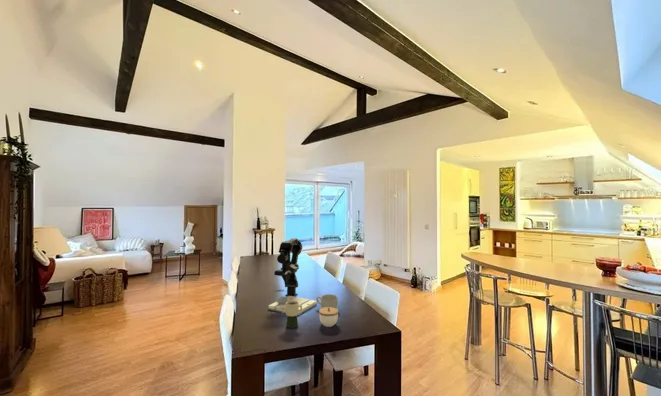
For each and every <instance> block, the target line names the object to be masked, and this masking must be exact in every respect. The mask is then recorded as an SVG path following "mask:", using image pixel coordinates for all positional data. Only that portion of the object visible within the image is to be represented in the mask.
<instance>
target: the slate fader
mask: <svg viewBox="0 0 661 396" xmlns="http://www.w3.org/2000/svg"><path fill="white" fill-rule="evenodd" d="M287 297H288V296H279V297H277V301H278V303H281V304H285V303H286V302H287V301H288V298H287Z"/></svg>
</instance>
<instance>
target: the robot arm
mask: <svg viewBox="0 0 661 396" xmlns="http://www.w3.org/2000/svg"><path fill="white" fill-rule="evenodd" d="M302 250H303V243H302V242H301V241H300V240H299V239H298V238H293V237H291V238H290V239H289V240H287V241H281V243H280V245H279V248H278V253H279V255H278V256H277V258H276V261H277V263H279V264H280V265H281V268H280V269H276V270H274V274H273V275H274V276H279V277H281V278H282V279H283V283H284V287H285V288H286V294H285V296H284V297H288V296H294V297H297V295H298V293H297V291H296V289H297V288H299V281H298V277H297V276H296V273H297V272H298V270H299V269H300V267H299V266H300V265H299V263H298V259H299V255H301V253H302Z"/></svg>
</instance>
